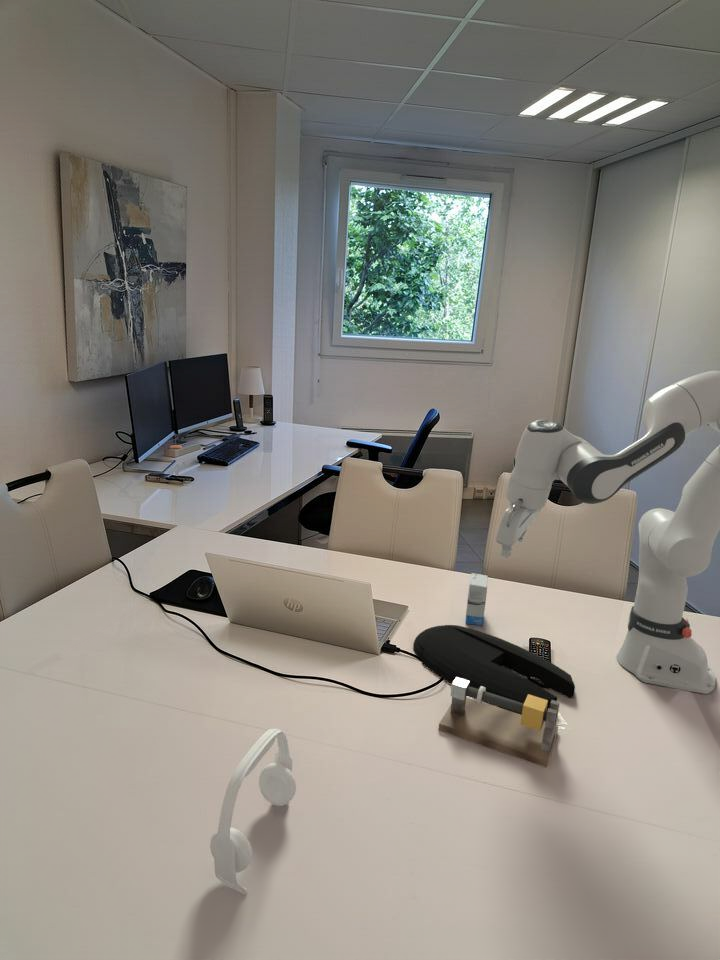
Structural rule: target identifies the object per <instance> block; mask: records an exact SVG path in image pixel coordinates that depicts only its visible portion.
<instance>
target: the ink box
mask: <svg viewBox="0 0 720 960" xmlns="http://www.w3.org/2000/svg"><path fill="white" fill-rule="evenodd" d="M488 578H489V577H488V575H486V574H481V573H479V574H478V573H474V572H472V573H470V577H469V579H470V580H469V584H468V585H469V586H468V594H467V600H466V601H467V603H466V610H465V611H466V612H465V624H467V625H475V626H481V627H482V626H483V627H484V618H485V609H486V602H487V593H488Z"/></svg>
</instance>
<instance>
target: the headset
mask: <svg viewBox="0 0 720 960" xmlns="http://www.w3.org/2000/svg"><path fill="white" fill-rule="evenodd" d="M276 740H277V747H278V749H277V750H278V751H277V753H276V754H274V758H273V762H272V763H271V762H270V763H268V764H267V765H266V766H264V767H263V768H262V769H261V772H260V774H259V777H258V787H259V791H260V793H261V795H262V796H263V798H264V800H265V801H267V803H268V802H269V803H270V804H271V805H273V806H278V807H279V806H282V807H283V806H289V804H290V803H291V801H292V800H293V798H294V796H295V795H296V789H297V783H296V778H295V776H294V774H293V764H294V763H293V758H292V756H291V754H290V750H289V744H288V739H287V735H286V734H285V733H284V732H283V731H282V730H281V729H279V728H270V729H268V730H266V731H265V733H263V734H262V735H261V736H260V737H259V739H257V741H256V742H255V743H254V744H253V745H252V746H251V748H250V749H249V750H248V751H247V753H246V754H245V755H244V757H242V759H241V761H240V762H239V763H238V765H237V767H236V769H235V770H234V772H233V774H232V775H231V777H230V780H229V782H228V784H227V787H226V790H225V794H224V797H223V801H222V804H221V810H220V816H219V822H218V827H217V830H215V831H214V833H213V834H212V836H211V839H210V843H209V846H210V847H209V849H210V854H211V856H212V858H213V862H214V874H215V877H216V878H217V879H218V880H219V881H220V882H221V883H223V884H224V885H226V886H228V887H229V888H231V889H232V890H234V891H237V892H238V893H240V894H243V895H245V896H246V895H248V889H247V888H246V887H245V886H244V885H242V884H240V883H239V880H238V879H237V873H241V872H243V871H245V870H247V868H248V867H249V865H250V864H251V862H252V858H253V857H252V856H253V851H252V846H251V844H250V842H249V839H248V838H247V837H246V836H245V834H243V833H242V831H240V830H239V829H237V828H235V827H231V826H232V819H233V814H234V808H235V805H236V800H237V796H238V793H239V790H240V789H241V785H242V783H243V781H244V778H247V777H248V776H249V775H250V774H251V773H252V771H253V770H254V769H255V768H256V766H257V765H258V764H259V762H260V761H261V760H262V759H263V757H264V756H265V755H266V754H267V753H268V751H269V750H270V749H271V748H272V746H273V745H274V743H275V741H276Z"/></svg>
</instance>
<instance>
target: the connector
mask: <svg viewBox="0 0 720 960" xmlns="http://www.w3.org/2000/svg"><path fill="white" fill-rule="evenodd" d="M469 685H470V681H468V680H465V679H462V678H458V677H456V678H455V680H454V681H453V683H452V684H451V687H450V688H451V690H450V697H451V702H450V705H451V711H450V712H451V713H454V714H457V715H460V716H462V714H463V712H464V710H465V704H466V697H468V696H466V689H467V687H468V686H469Z"/></svg>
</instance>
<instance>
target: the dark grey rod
mask: <svg viewBox="0 0 720 960" xmlns="http://www.w3.org/2000/svg"><path fill="white" fill-rule="evenodd" d="M466 696H467V697H468V698H471V699H474V700H477V701H476V702H477V704H480V705H481V704H482V702H484V703H487V704H490V705H492V704H493V706H495V705H496V707H497V706H500V707H503V708H506V709H509V710H512V711H515V712H518V713H521V714H522V710H523V705H524V704H523V703H520V702H517V701H514V700H511V699H508V698H504V697H501V696H498V695H495V694H492V693H489V692H485V687H483V686H481V687H480V688H479V689H476V688H473V687H470V686H468V687H467V689H466ZM546 717H547V711H546V710H545V711H544V715H543V721H544V722H546ZM556 719H557V714H556ZM556 719H555V723H556ZM557 720H558V719H557Z"/></svg>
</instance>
